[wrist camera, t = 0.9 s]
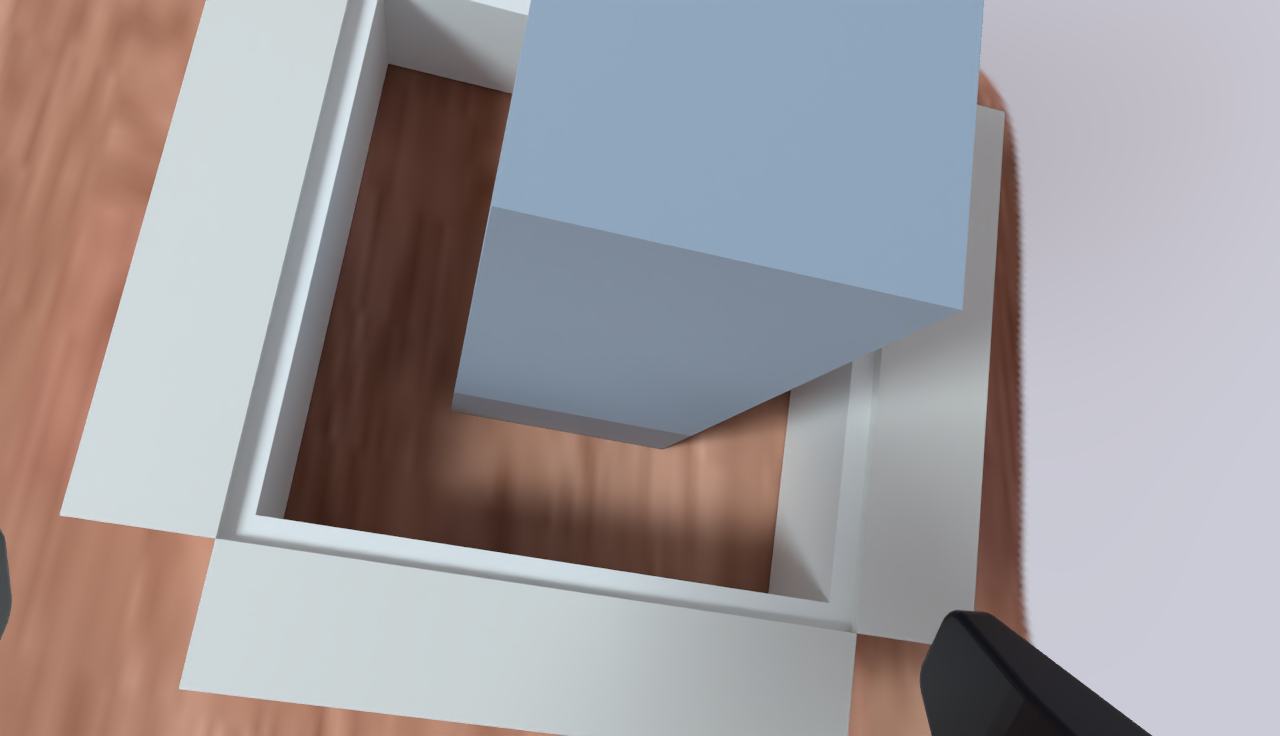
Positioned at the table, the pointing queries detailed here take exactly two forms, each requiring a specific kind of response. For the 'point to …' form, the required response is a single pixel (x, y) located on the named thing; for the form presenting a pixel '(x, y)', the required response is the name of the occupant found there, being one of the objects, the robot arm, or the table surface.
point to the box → (717, 206)
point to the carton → (459, 576)
